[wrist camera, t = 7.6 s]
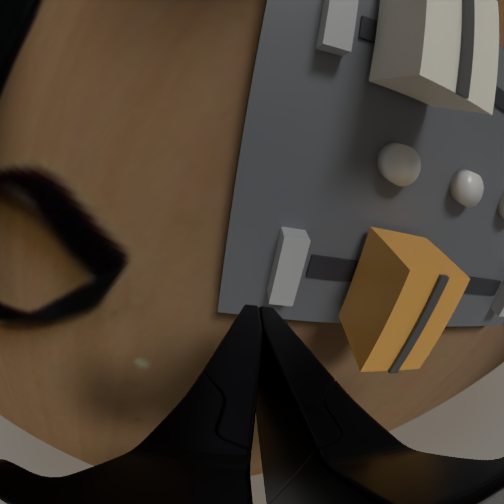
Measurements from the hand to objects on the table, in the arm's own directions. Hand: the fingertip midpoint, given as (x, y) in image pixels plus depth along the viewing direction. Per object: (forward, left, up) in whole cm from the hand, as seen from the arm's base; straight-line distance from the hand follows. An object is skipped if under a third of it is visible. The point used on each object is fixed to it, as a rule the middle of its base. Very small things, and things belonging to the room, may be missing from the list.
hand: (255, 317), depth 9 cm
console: (-9, -5, -5) cm, 12 cm away
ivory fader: (-4, -10, -4) cm, 11 cm away
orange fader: (-6, 0, -4) cm, 7 cm away
